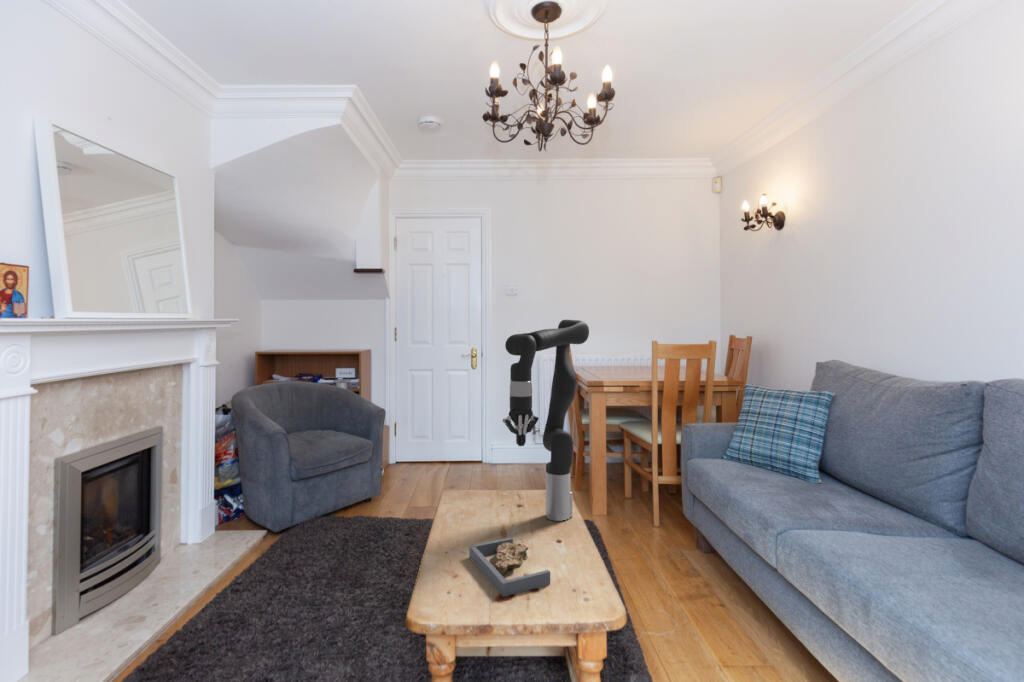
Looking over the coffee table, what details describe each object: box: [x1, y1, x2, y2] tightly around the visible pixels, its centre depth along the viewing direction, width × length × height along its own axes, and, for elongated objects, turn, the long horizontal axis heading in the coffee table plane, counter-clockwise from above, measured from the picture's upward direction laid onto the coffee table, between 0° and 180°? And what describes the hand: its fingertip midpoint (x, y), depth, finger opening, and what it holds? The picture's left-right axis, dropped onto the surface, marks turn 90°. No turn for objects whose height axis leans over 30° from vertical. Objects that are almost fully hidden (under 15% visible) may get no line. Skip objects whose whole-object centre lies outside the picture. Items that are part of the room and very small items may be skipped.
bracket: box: [468, 537, 551, 597], centre depth 141 cm, size 14×25×4 cm, turn 26°
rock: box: [494, 543, 529, 576], centre depth 145 cm, size 17×5×10 cm
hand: (520, 445), depth 161 cm, fingers closed
